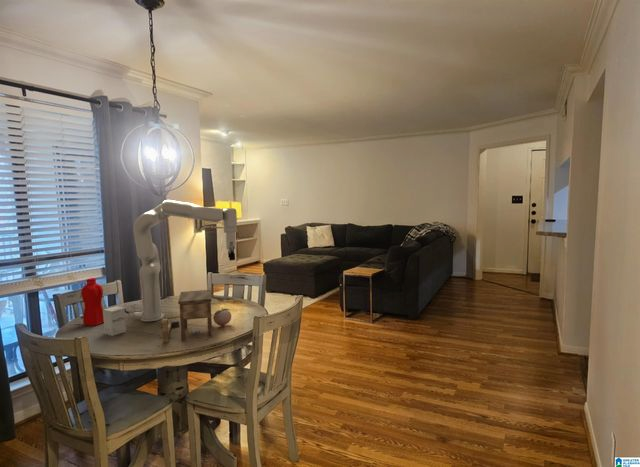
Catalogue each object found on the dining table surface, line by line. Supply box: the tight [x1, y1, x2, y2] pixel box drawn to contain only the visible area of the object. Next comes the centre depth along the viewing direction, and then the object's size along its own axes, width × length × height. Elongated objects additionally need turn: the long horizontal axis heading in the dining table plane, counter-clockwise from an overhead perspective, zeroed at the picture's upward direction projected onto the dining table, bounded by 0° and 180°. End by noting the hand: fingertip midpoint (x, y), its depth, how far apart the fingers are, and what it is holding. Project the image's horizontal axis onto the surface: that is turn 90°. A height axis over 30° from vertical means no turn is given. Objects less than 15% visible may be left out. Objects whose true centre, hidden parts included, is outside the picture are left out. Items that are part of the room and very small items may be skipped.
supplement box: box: [103, 305, 127, 337], centre depth 199 cm, size 7×7×13 cm
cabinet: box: [177, 289, 213, 342], centre depth 197 cm, size 15×19×19 cm
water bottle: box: [80, 277, 104, 327], centre depth 213 cm, size 9×11×25 cm
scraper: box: [160, 317, 180, 344], centre depth 195 cm, size 23×9×11 cm, turn 16°
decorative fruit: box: [212, 307, 232, 327], centre depth 206 cm, size 9×8×10 cm
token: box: [190, 329, 201, 336], centre depth 197 cm, size 4×4×1 cm
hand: (231, 258), depth 230 cm, fingers open, 9 cm apart
